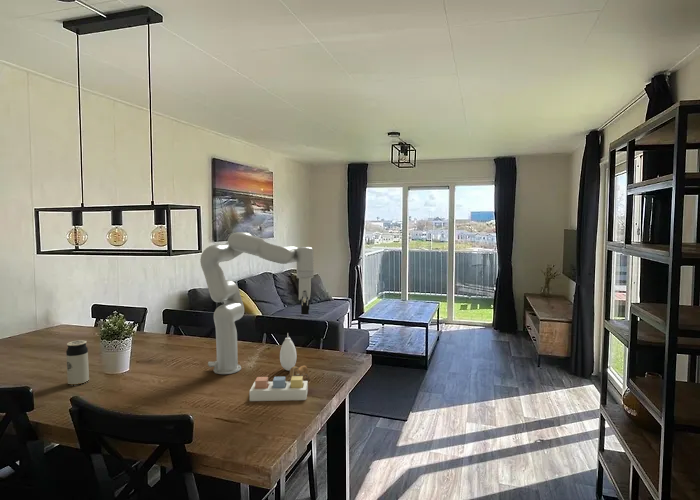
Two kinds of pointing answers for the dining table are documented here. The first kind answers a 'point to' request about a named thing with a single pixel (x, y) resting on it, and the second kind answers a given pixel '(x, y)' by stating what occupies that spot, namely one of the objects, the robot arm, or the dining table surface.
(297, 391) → the button board
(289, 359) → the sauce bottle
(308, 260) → the robot arm
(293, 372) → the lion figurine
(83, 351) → the travel mug
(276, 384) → the blue button
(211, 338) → the dining table surface
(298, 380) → the ochre button
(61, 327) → the dining table surface
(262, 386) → the terracotta button
